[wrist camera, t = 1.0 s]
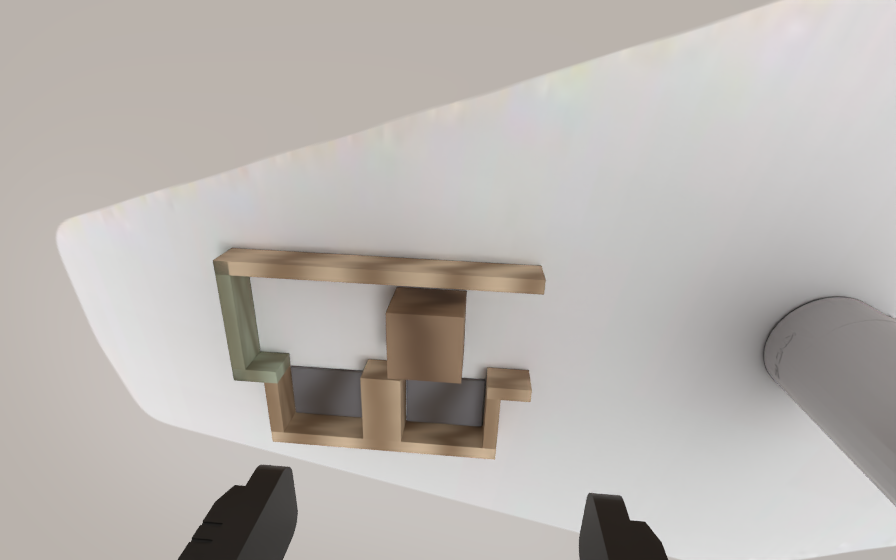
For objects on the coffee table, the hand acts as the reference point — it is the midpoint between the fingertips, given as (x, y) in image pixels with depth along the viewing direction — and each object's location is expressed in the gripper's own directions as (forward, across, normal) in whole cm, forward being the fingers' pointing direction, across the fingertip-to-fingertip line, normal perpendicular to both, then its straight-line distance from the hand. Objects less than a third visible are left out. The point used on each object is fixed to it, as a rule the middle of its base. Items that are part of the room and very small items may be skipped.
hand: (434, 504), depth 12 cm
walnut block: (+28, +3, +10) cm, 30 cm away
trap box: (+28, +7, +13) cm, 31 cm away
